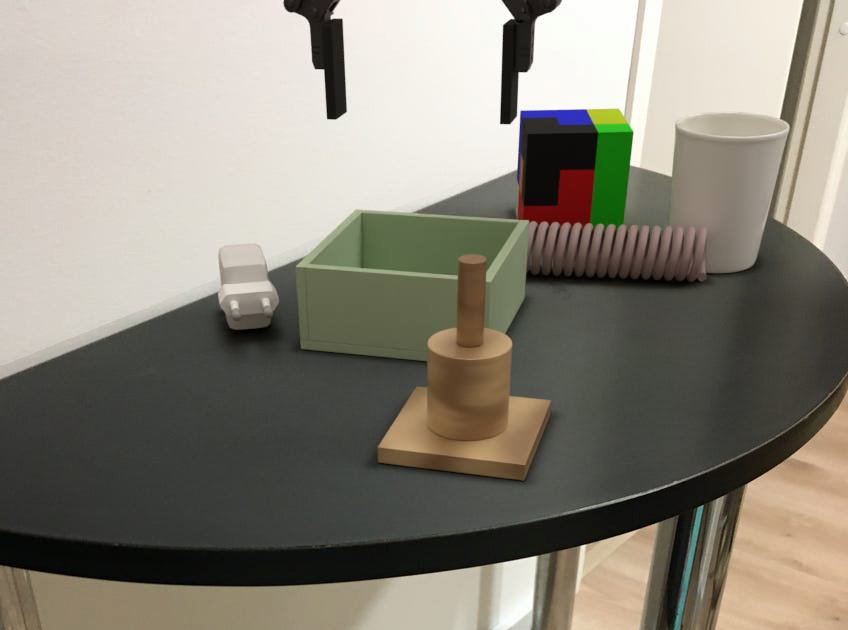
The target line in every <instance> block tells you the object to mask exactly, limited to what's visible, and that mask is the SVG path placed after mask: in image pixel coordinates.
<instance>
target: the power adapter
mask: <svg viewBox="0 0 848 630" xmlns="http://www.w3.org/2000/svg"><path fill="white" fill-rule="evenodd" d="M218 267H219V278H220V286H221V287H220V289H219V290H218V292H217V298H218V302H219V307H220V309H221V310H222V311H223V312H224V315H225V319H226V323H227V325H228V329H231V330H238V331H239V330H251V329H261V328H267V327H268V326H270V325H271V323H272V317H273V316H274V312H275V310H276V308H277V307H278V305H279V303H280V297H279V295H278V294H279V293H278V291H277V289H276V287H275V286H274V284H272V282H271V281H270V279H269V271H268V264H267V261H266V258H265V254H264V251H263V249H262V247H261V245H260V244H258V243H241V244H229V245H224V246H221V247H220V248H219V249H218Z"/></svg>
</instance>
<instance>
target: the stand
mask: <svg viewBox="0 0 848 630" xmlns="http://www.w3.org/2000/svg"><path fill="white" fill-rule="evenodd" d="M486 265H487V259H486V257H484V256H482V255H477V254H468V255H463V256H461V257H459V259H458V285H457V328H451V329H446V330H443V331H440V332H438V333H436V334H434V335H433V336H431V337H430V338H429V340H428V343H427V361H426V386H418V385H417V386H416V387H415V388H414V389H413V391H412V392H411V394H410V396H409V397H408V399H407V400H406V402H405V404H404V405H403V406H402V408H401V410H400V411H399V413H398V415H397V416H396V417H395V419H394V420H393V422H392V424H391V426H390V427H389V428H388V430H387V432H386V433H385V435H384V436H383V438H382V440H381V441H380V443H379V444H378V445H377V463H378V464H386V465H387V464H388V465H395V466H403V467H410V468H418V469H426V470H435V471H443V472H451V473H452V472H453V473H459V474H468V475H474V476H475V475H476V476H484V477H491V478H499V479H507V480H508V479H509V480H516V481H525V479H526V478H527V476H528V472H529V470H530V467H531V464H532V462H533V459H534V457H535V455H536V452H537V450H538V447H539V444H540V441H541V439H542V437H543V434H544V432H545V430H546V427H547V425H548V422H549V419H550V417H551V410H552V400H551V399H542V398H532V397H525V396H524V397H523V396H514V395H513V396H512V395H511V378H512V376H511V375H512V357H513V341H512V339H511V338H510V336H509V335H507V334H506V333H505V334H504V333H502V332H499V331H496V330H493V329H488V328H484V317H485V291H486Z"/></svg>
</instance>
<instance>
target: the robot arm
mask: <svg viewBox="0 0 848 630" xmlns="http://www.w3.org/2000/svg"><path fill="white" fill-rule="evenodd" d="M562 1H563V0H501V2H502V4H503V5H504V6H505V7H506V9H507V11H508V12H509V13H510V14H511V16H512V17H513V18H509V20H507V21H506V22H505V23H504V24H503V25H502V42H501V43H502V44H501V45H502V47H501V48H502V49H501V77H500V78H501V79H500V111H499V112H500V114H499V125H511V124H512V123H513V122H514V121H515V119H517V117H518V103H519V102H518V99H519V77H520V74H519V73H528V72H529V71H530V70H531V68H532V65H533V63H534V53H535V49H534V48H535V31H536V30H535V28H536V22H537V20H538V18H539V17H541V16H542V17H543V16H544V15H547V14H550V13H553V11H555V10H556V9H557V8H559V6H560V5H561V4H562ZM340 2H341V0H283V2H282V5H283V8H284V9H285V11H287V12H288V13H290V14H292V13H294V14H297V15H299V16H302V17H304V18H305V19H306V21H307V22H308V23H309V24H308V25H309V34H310V49H311V52H310V53H311V63H312V65H313V68H314V70H323V73H324V93H325V108H326V109H325V110H326V111H325V112H326V120H331V121H332V120H335V121H337V120H338V119H339V118H341V117H342V116H343V115H346V113H347V112H348V109H347V108H348V107H347V83H346V61H345V40H344V38H345V37H344V19H343V18H332V16H333V15H334V14H335V12H334V11H335V10H336V8H337V6H338V5H339V3H340Z"/></svg>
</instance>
